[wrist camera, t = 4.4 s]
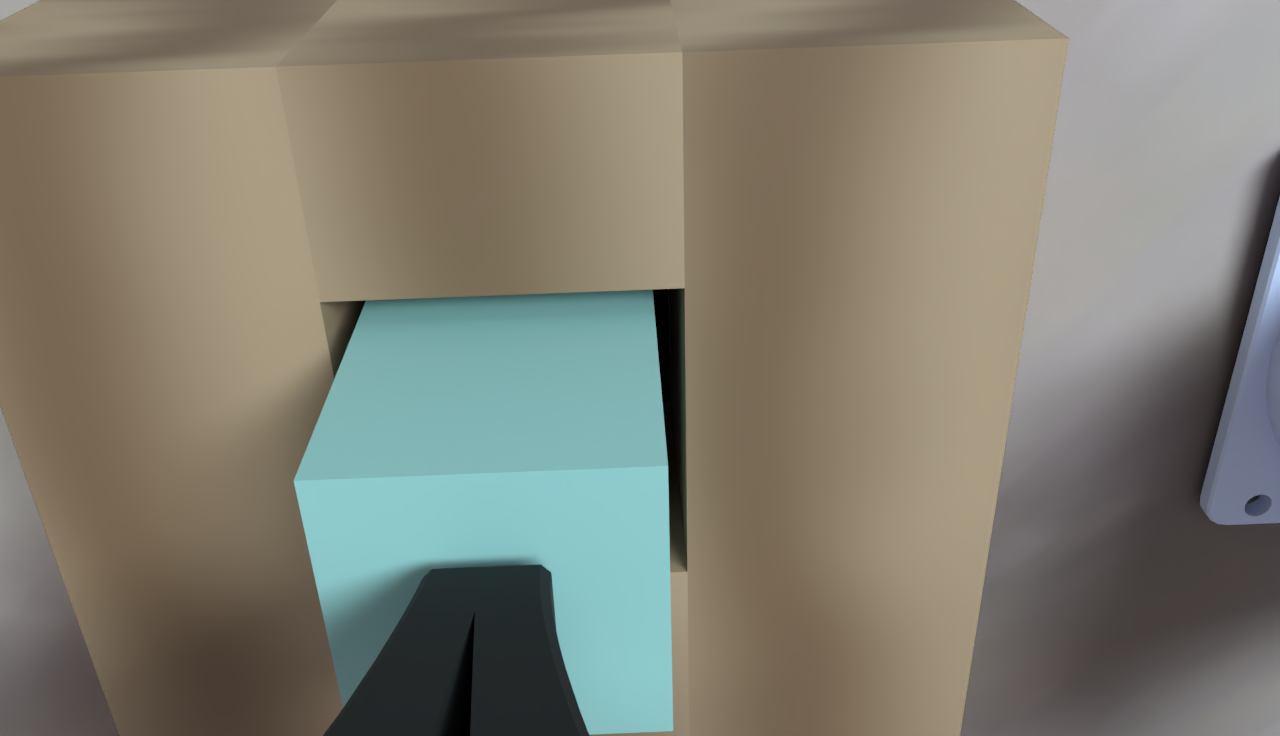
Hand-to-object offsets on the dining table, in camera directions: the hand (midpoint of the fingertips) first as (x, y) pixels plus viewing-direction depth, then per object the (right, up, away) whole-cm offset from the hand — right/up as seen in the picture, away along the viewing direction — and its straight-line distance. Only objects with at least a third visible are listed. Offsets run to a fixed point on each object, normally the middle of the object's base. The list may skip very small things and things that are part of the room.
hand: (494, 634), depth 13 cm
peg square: (0, +3, +5) cm, 5 cm away
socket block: (0, 0, +10) cm, 10 cm away
